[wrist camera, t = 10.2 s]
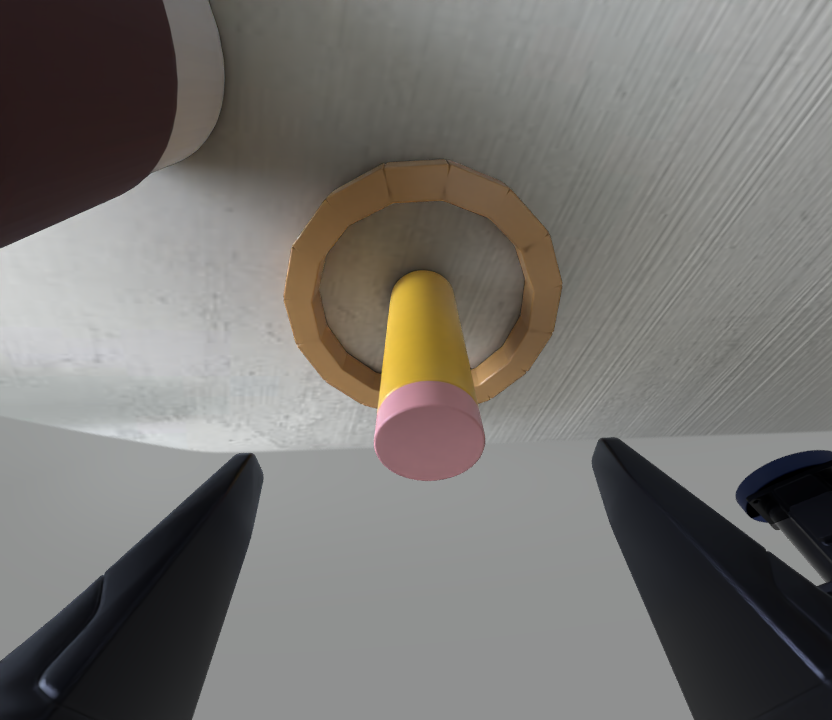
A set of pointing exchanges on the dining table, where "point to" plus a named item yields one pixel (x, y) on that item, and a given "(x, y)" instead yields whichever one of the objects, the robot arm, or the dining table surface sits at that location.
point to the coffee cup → (99, 100)
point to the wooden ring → (422, 186)
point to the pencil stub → (426, 385)
